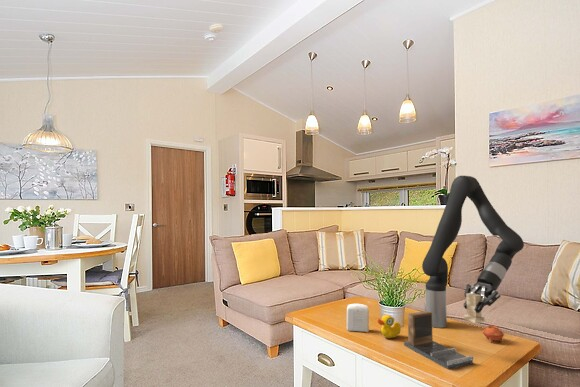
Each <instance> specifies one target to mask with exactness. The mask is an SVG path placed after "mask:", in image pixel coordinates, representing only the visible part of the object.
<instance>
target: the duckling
mask: <svg viewBox="0 0 580 387" xmlns="http://www.w3.org/2000/svg"><path fill="white" fill-rule="evenodd" d="M377 323H378V324H379V325H380V326H381V328H380V333H381V334H382V336H383V337H384V338H386V339H393V338H396V337H397V336H399V335H400V333H401V324H400V322H398V321H395V318H394V317H393V316H391V315H389V314H384V315H383V316H382V317H381V319H380V318H377Z"/></svg>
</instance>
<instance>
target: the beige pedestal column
mask: <svg viewBox="0 0 580 387" xmlns="http://www.w3.org/2000/svg"><path fill="white" fill-rule="evenodd" d="M465 299H466V300H465V301H466V303H467V309H466V314H464V315H463V319H464V320H465V321H468V322H471V323H473V324H478V323H484V322H485V321H486V319H485V317H484V316H482V311H481V312H479V313H477V312H476V311H475V310H474V309H475V307H476V306H477V304H478V302H480V299H481V295H478V294H474V293H467V294H466V297H465Z"/></svg>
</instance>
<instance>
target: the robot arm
mask: <svg viewBox="0 0 580 387" xmlns="http://www.w3.org/2000/svg"><path fill="white" fill-rule="evenodd" d="M467 198H468V199H469V200H470V201H471V202H472V203H473V204H474V206H475V208H476V210H477V213H478V215H479V218H480V220H481V222H482V223H483V225H484V226H485V227H486V229H487V230H488V232H489V233H490V234H491V235H492V236H495V237H497V236H498V237H499V238H500V239H501V241H500V242H499V243H498V245H497V247H496V249H495V250H494V253H493V255H492V256H491V258H490V259H489V261H488V263H487V264H485V266H484V268H483V269H482V271H481V272H480V275H478V277H477V279H476V280H477V281H476V283H475V284H473V285H470V283H468V284H466V286H465V290H464V294H463V295H464V297H465V298H466V294H467V293H474V294H478V295H481V299H480V302H478V304H477V306H476V307H475V309H474V310H475V311H476V312H477V313H479V312H481V313H482V310H483V309H484V308H485V306H488V307H490V306H492V305H493V304H494V303H495V302H496V301H498V299H500V298H501V294H500V293H499V291H497V290H498V288H499V287H500V285H501V283H502V282H503V280H504V279H505V277H506V275H507V272H508V271H509V269H510V267H511V265H512V262H513V261H512V260H513V258H514V257H515V255H516V254H517V253H519V252H520V251H522V250H523V249H524V246H525V243H524V240H523V238H522V237H521V236H520V235H519V233H518V232H516V231H515V230H513V228H511V227H510V226H508V224H506V222H505V220H504V219H503V218H502V217H501V215H500V214H499V213H498V212H497V211H496V209H495V208H494V206H493V205H492V203H491V202H490V200H489V198H488V197H487V195H486V193H485V192H484V190H483V188H482V186H481V184H480V183H479V180H477V179H476V177H475V176H470V175H458V176H457V177H455V178H454V179H453V180H452V183H451V186H450V189H449V194H448V198H447V201H446V205H445V207H444V210H443V212H442V215H441V217H440V220H439V222H438V225H437V228H436V231H435V233H434V236H433V239H432V241H431V243H430V244H431V245H430V246H429V248H428V251H427V252H426V254H425V257H424V258H423V261H422V264H421V267H422V271H423V273H424V274H425V275H426V276H427V277H429V279H428V280H427V281H426V282H425V303H424V311H429V312H431V313H432V328H440V329H442V328H446V327H447V325H448V324H447V316H448V315H447V314H448V313H447V285H448V282H449V281H448V280H449V278H448V277H449V276H448V274H449V267H448V263H447V260H446V259H445V257H444V254H445V253H446V251H447V250H448V249H449V247H450V246H451V245H452V244H453V243H454V242H455V240H456V239H457V236H458V235H459V232H460V230H461V226H462V222H463V220H462V219H463V218H462V217H463V215H462V214H463V213H462V212H463V206H464V204H465V201H466V200H467ZM463 308H464V309H465V310H467V303H466V300H465V301H464V303H463Z"/></svg>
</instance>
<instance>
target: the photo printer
mask: <svg viewBox="0 0 580 387" xmlns="http://www.w3.org/2000/svg"><path fill="white" fill-rule="evenodd" d="M369 311H370V310H369V306H368V305H366V304H362V303H351V304H347V307H346V331H348V332H349V331H350V332H362V333H369V330H370V312H369Z"/></svg>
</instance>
